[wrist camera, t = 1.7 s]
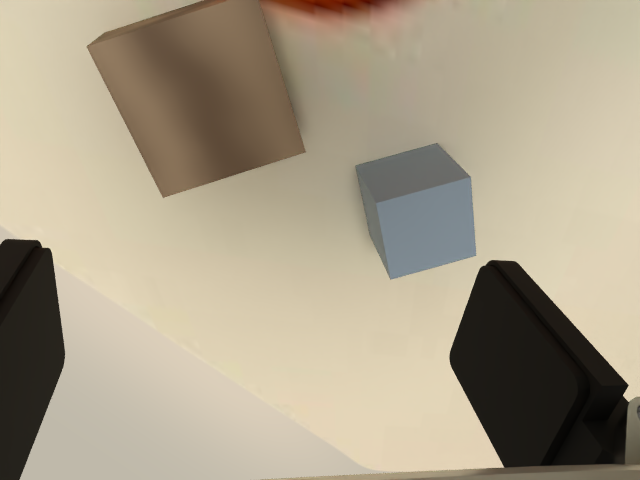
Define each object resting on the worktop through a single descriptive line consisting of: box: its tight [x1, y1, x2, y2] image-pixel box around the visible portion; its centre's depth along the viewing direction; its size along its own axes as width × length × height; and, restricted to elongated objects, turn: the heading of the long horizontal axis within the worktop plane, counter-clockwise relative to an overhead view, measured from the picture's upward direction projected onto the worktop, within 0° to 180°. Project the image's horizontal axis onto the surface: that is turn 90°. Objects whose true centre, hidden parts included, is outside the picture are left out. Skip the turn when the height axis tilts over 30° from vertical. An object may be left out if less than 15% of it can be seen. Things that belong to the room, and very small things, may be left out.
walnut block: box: [87, 0, 306, 198], centre depth 30 cm, size 9×9×4 cm
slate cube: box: [356, 143, 476, 279], centre depth 35 cm, size 6×6×6 cm
